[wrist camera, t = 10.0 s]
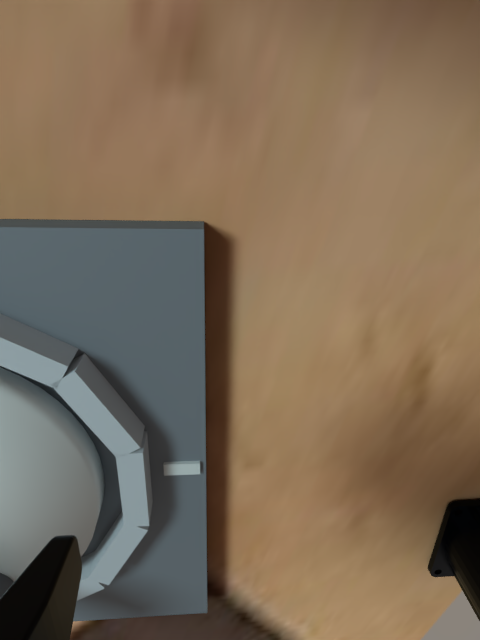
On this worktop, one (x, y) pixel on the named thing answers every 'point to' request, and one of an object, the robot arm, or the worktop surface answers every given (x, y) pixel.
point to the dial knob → (42, 476)
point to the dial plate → (121, 392)
